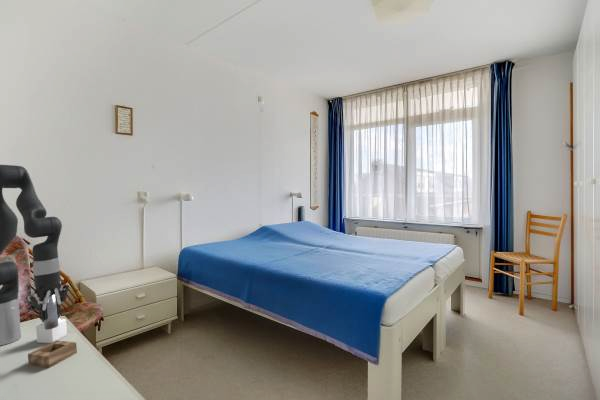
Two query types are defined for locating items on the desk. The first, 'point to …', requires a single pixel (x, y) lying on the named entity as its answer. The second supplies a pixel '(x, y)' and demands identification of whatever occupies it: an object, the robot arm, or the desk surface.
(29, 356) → the bore block
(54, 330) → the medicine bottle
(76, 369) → the desk surface
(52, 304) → the peg
